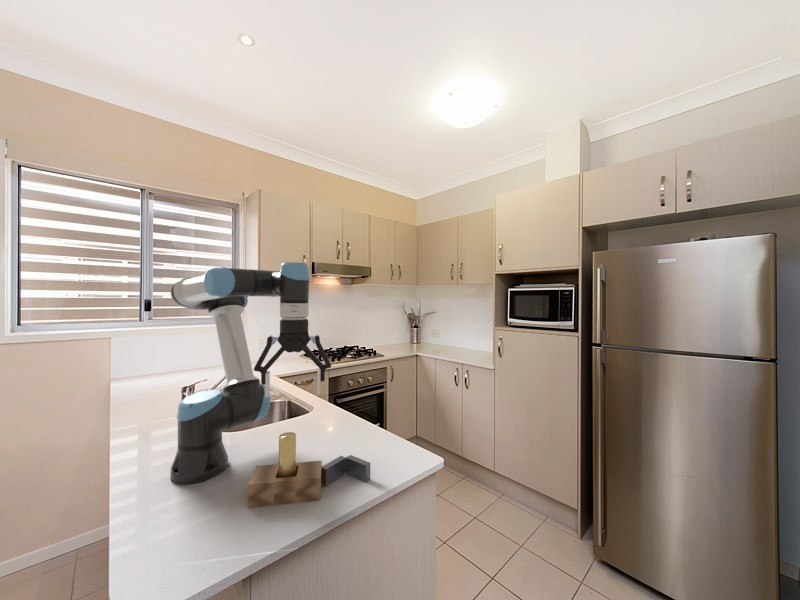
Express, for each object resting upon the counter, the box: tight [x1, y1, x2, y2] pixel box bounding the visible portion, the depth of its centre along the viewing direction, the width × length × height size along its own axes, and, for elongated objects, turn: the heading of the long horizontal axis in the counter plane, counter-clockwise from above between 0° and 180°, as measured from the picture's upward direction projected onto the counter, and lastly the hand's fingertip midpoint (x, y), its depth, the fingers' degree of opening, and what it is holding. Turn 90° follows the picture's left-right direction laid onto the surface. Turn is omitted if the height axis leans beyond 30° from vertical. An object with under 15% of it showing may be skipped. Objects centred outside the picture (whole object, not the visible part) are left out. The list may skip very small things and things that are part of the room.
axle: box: [278, 431, 297, 478], centre depth 88 cm, size 4×4×16 cm
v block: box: [321, 454, 371, 487], centre depth 96 cm, size 14×7×5 cm, turn 101°
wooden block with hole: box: [246, 460, 323, 509], centre depth 88 cm, size 18×9×6 cm, turn 101°
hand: (293, 394), depth 90 cm, fingers open, 13 cm apart
